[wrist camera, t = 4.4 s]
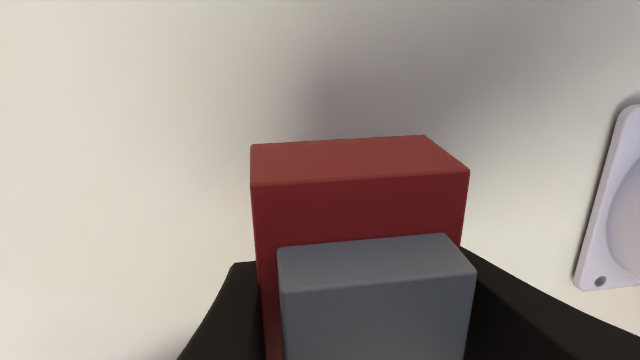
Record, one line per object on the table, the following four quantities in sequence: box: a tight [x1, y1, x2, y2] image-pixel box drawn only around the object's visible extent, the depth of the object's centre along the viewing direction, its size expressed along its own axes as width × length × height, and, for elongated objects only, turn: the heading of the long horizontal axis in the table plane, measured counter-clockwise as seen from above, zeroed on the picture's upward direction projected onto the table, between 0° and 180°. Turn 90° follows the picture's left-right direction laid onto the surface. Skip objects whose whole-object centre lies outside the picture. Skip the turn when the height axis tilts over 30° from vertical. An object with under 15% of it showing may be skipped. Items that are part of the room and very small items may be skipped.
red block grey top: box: [250, 135, 477, 360], centre depth 10 cm, size 4×7×4 cm, turn 1°
